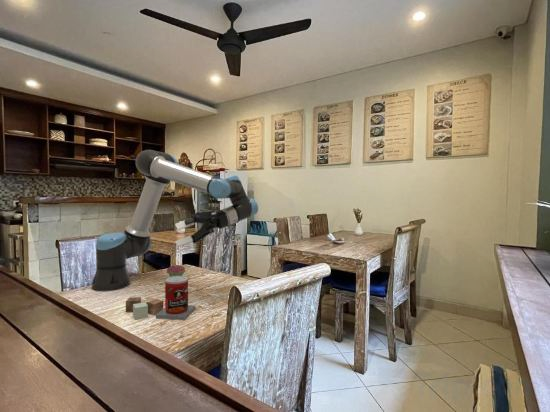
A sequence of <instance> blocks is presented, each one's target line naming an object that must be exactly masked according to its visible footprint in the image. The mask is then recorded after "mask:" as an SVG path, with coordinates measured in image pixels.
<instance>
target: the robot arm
mask: <svg viewBox="0 0 550 412" xmlns="http://www.w3.org/2000/svg"><path fill="white" fill-rule="evenodd" d="M135 166H136V169H137V170H138V172H139V173H140V174H142V175H144V176H143V177H144V178H145V182H144V184H143V185H144V186H143V187H142V191H141V194H140V197H139V200H138V202H137V204H136V208H135V210H134V214H133V216H132V219H131V222H130V224H129V225H127V226H126V227H125V228H124V232H120V231H119V232H110V233H105V234H102V235H101V234H100V235H99V236H98V237H97V238H96V244H95V253H96V254H95V257H96V259H95V260H96V261H95V262H96V266H95V267H96V268H95V269H96V270H95V273H94V276H93V279H92V282H91V289H92V290H94V291H98V292H99V291H100V292H104V291H106V292H107V291H114V290H120V289H121V290H122V289H123V288H126V287H128V286H130V284H131V279H130V276H129V272H128V270H127V263H126V262H127V260H128V259H131V258H137V257H140V256H142V255H144V254H147V253H148V251H149V250H150V249H151V246H152V240H151V232H150V231H149V229H150V228H151V224H152V222H153V218H154V216H155V213H156V210H157V208H158V205H159V202H160V200H161V196H162V195H163V191H164V190H165V187H166V186H168V185H170V182H174V183H176V184H180V185H183V186H185V187H188V188H191V189H194V190H197V191H200V192H203V193H206V194H208V195H211V196H212V197H213V198H216V199H220V200H221V199H222V200H223V199H229V200H230V202H231V204H232V205H230V206H227V207H224V208H222V209H219V210H216V211H215V210H212V211H203V212H201V211H200V212H194V213H193V214H191V215H190V217H191V218H187V219H185V220H182V221H179V222H176V223H175V224H174V225H175V227H176V229H177V231H181V230H183V229H187V228H189V227H191V226H195V223H196V224H202V226H201V227H200V228H199V229H198V230H196V231H195V232H194V233H193V234H192V235H187V236H185V237H183V238H180V239H177V240H175V242H174V243H175V245H176V247H177V248H180V247H182V246H186V245H189V244H190V243H193V244H196V243H198V242H200V241H201V240H202V239H204V238H206V237H207V236H209V235H211V234H213V233H215V228H218V229H224V228H225V227H228V226H230V225H233V224H237V223H238V222H241V221H243V220H247V219H248V218H250V217H253V216H256V215H257V214H258V213H259V205H258V203H257V202H256V200H255V199H254V198H249V196H248V195H247V192H246V191H245V189H244V186H243V183H242V181H241V180H240V178H239V176H238V175H230V176H228V177H226V178H225V179H223V178H220V177H217V176H214V175H211V174H208V173H205V172H202V171H200V170H196V169H193V168H190V167H187V166H185V165H182V164H179V162H178V159H177V158H176V157H175V156H173V155H171V154H170V153H168V152H167V153H166V152H162V151H157V150H153V149H145V150H142V151H140V152H139V153H138V154H137V155H136V158H135Z"/></svg>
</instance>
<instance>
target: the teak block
mask: <svg viewBox="0 0 550 412" xmlns="http://www.w3.org/2000/svg"><path fill="white" fill-rule="evenodd" d="M145 302H146V304H147V305H148V315H152V316H156V314H157V313H159V312H160V311H161V310H162V309H164V300H163V299H158V298H154V299H149V300H148V301H145Z"/></svg>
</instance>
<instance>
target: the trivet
mask: <svg viewBox="0 0 550 412" xmlns="http://www.w3.org/2000/svg"><path fill="white" fill-rule="evenodd" d="M195 310H196V305H193V304H188V308H187V310H186V311H185V312H182V313H179V314H170V313H167V312H166V309H165V307H163V309H162V310H161V311H160V312H159V313H157V314H156V315H155V319H162V320H182V321H185V320H186V319H187V318H188V317H189V316H190V315H191V314H192V313H193V312H194V311H195Z"/></svg>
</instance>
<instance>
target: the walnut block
mask: <svg viewBox="0 0 550 412" xmlns="http://www.w3.org/2000/svg"><path fill="white" fill-rule="evenodd" d="M138 303H142V297H141V296H137V297H136V296H132V297H128V298H127V299H126V301H125V313H133V304H138Z"/></svg>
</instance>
